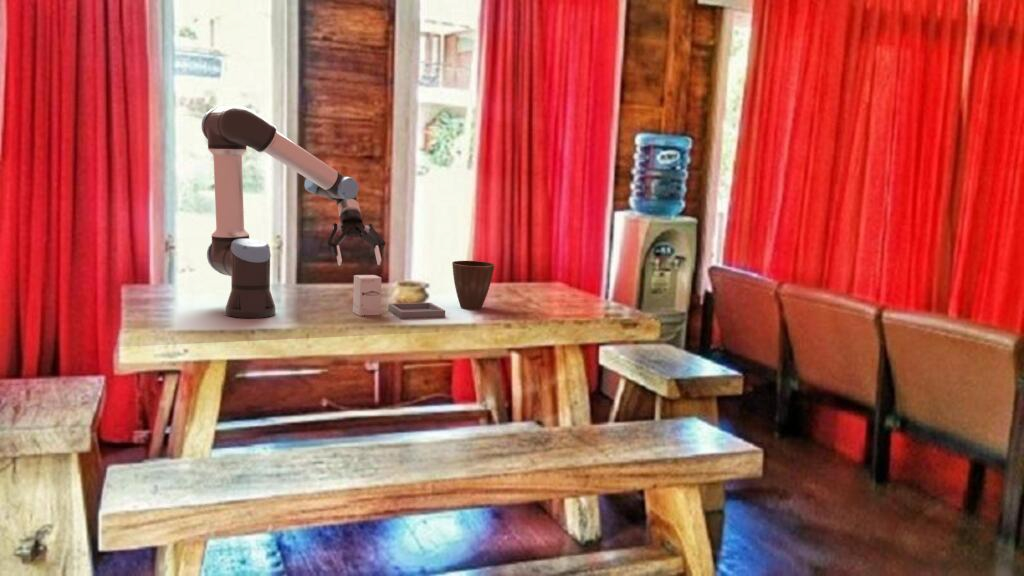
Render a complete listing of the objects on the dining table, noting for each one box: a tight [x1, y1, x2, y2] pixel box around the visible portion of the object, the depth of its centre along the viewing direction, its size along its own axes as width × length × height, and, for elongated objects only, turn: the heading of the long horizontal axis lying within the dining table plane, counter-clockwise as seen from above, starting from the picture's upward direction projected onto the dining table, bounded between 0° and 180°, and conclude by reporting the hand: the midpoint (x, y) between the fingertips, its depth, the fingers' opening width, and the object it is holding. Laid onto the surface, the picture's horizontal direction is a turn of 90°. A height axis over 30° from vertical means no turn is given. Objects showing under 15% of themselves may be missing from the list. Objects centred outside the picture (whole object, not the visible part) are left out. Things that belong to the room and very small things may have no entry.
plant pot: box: [451, 260, 495, 311], centre depth 285 cm, size 15×15×16 cm
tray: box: [387, 302, 446, 320], centre depth 270 cm, size 15×15×2 cm
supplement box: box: [352, 274, 382, 317], centre depth 265 cm, size 7×7×13 cm
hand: (360, 263), depth 273 cm, fingers open, 13 cm apart
